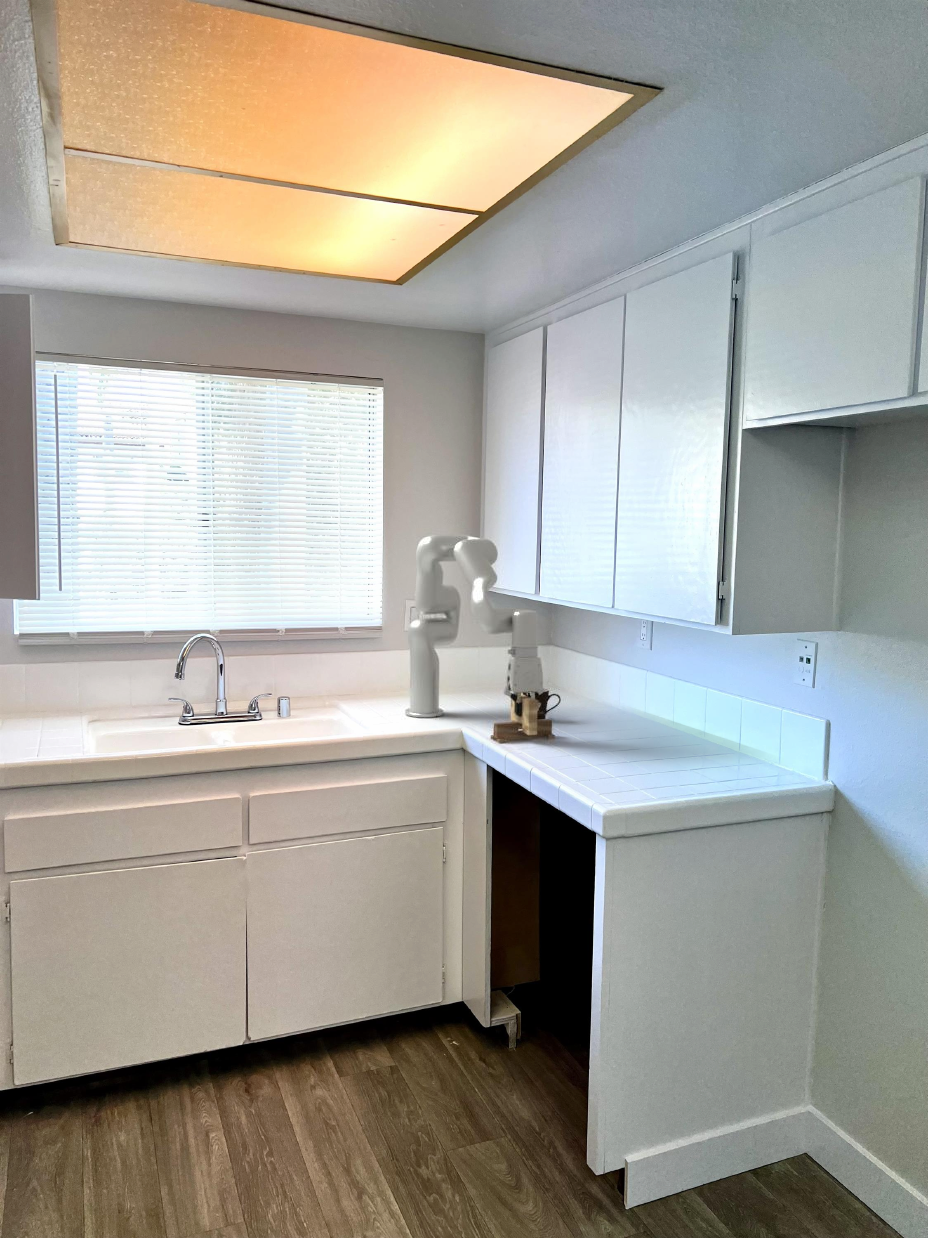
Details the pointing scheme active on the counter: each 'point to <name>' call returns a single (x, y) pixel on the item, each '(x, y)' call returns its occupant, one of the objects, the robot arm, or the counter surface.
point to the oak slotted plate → (526, 715)
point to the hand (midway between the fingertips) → (523, 714)
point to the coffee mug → (544, 703)
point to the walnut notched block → (520, 731)
